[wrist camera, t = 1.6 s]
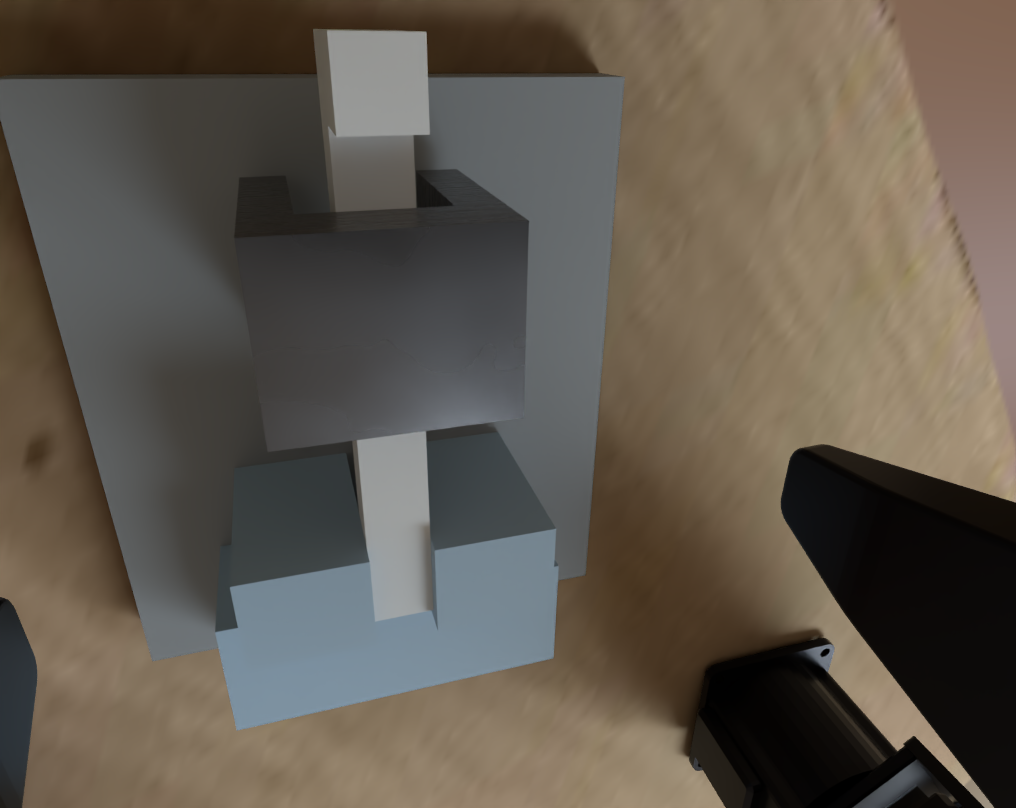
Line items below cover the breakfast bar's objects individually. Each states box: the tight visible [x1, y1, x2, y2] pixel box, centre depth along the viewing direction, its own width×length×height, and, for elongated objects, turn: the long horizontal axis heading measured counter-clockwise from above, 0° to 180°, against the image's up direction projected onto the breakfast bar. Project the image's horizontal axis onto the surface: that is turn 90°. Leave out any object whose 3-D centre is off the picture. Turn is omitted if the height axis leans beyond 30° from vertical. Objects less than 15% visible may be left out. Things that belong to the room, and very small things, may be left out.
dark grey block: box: [234, 169, 529, 452], centre depth 16 cm, size 5×4×6 cm
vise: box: [0, 29, 625, 730], centre depth 18 cm, size 14×17×8 cm
